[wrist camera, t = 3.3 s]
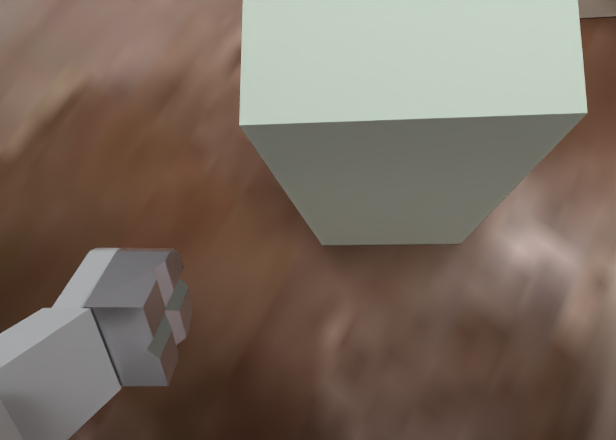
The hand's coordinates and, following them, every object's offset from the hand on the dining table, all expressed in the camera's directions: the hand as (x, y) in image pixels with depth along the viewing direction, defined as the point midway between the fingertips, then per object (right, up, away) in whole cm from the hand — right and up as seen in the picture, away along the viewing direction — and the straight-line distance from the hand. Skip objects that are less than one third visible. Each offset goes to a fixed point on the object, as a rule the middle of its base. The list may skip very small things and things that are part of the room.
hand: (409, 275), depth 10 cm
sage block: (+1, +2, +12) cm, 12 cm away
